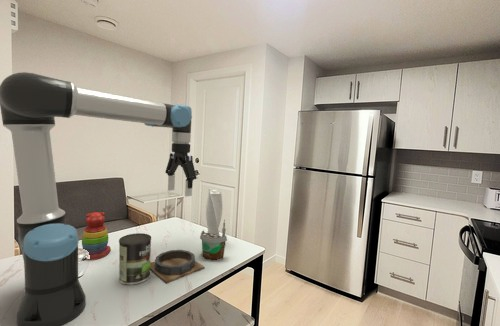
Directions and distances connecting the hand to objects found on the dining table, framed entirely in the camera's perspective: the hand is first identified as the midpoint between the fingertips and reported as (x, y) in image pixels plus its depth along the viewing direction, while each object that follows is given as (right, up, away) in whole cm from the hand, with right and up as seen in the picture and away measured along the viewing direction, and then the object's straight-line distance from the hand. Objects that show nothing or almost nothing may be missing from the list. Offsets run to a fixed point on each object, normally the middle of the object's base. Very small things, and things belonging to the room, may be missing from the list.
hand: (179, 193), depth 112 cm
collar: (+1, -27, -11) cm, 29 cm away
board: (+1, -27, -11) cm, 29 cm away
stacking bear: (-33, -25, -4) cm, 42 cm away
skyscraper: (+13, -26, +11) cm, 31 cm away
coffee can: (-11, -28, -19) cm, 35 cm away
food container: (+13, -27, -1) cm, 30 cm away
